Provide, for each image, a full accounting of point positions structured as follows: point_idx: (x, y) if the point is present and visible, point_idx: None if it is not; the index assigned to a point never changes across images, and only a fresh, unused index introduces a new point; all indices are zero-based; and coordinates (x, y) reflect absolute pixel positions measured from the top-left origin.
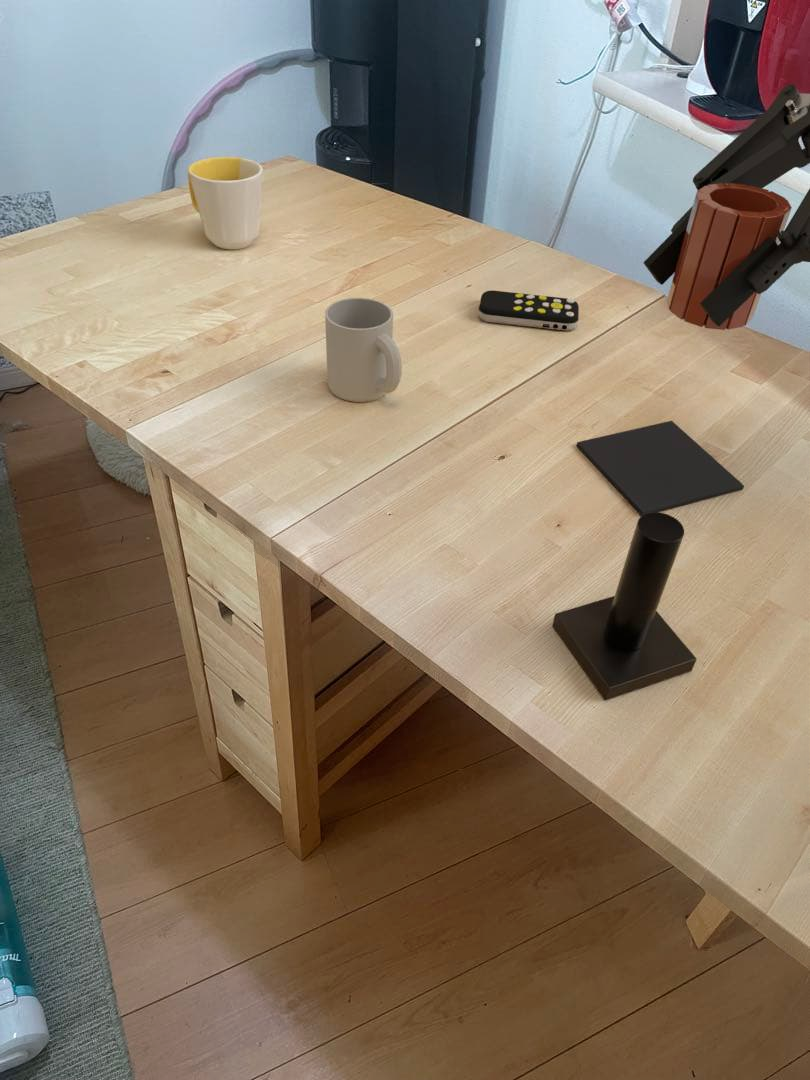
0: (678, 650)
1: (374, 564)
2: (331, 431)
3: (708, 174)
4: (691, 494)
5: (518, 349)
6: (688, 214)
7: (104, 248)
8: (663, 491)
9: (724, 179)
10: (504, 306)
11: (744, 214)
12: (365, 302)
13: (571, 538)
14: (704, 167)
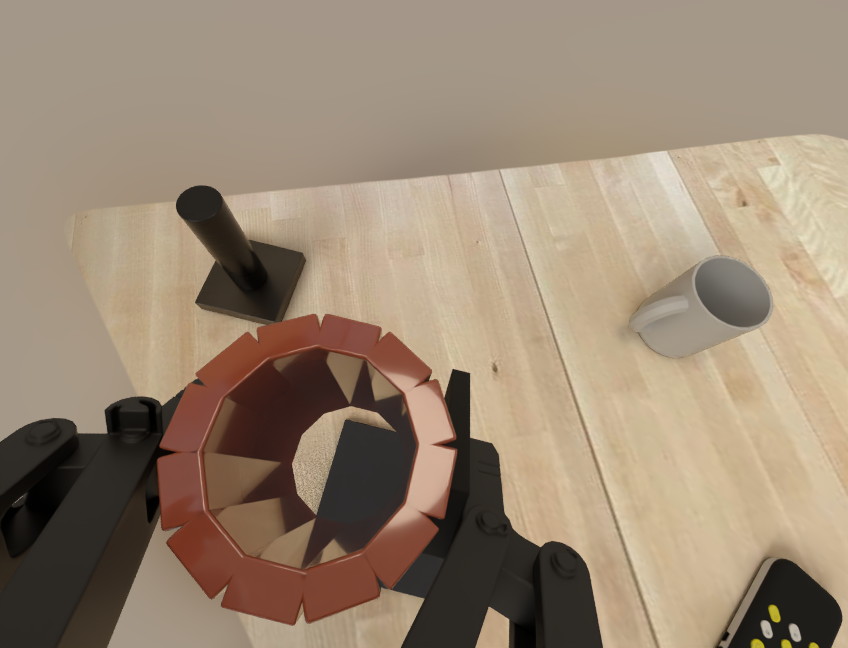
0: (210, 297)
1: (435, 204)
2: (603, 266)
3: (547, 579)
4: (331, 491)
5: (682, 550)
6: (489, 479)
7: None
8: (354, 467)
9: (474, 571)
10: (785, 597)
11: (242, 345)
12: (762, 318)
13: None
14: (593, 607)
